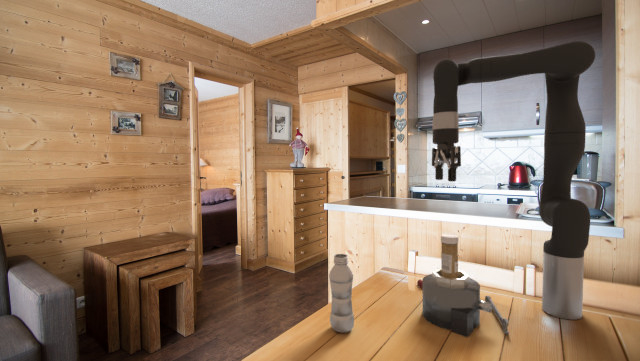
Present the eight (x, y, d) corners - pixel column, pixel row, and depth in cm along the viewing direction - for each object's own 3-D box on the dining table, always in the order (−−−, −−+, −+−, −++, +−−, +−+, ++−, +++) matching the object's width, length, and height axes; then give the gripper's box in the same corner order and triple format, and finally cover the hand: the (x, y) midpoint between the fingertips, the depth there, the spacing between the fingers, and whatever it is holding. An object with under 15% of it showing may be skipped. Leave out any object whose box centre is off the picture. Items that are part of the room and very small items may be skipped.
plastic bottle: (338, 338, 81) (336, 261, 80) (325, 326, 87) (324, 254, 86) (359, 331, 84) (358, 257, 83) (345, 320, 90) (344, 251, 89)
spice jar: (461, 284, 89) (462, 236, 88) (447, 286, 88) (447, 237, 87) (451, 278, 93) (451, 232, 92) (437, 280, 92) (437, 234, 91)
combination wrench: (484, 292, 99) (504, 322, 80) (489, 292, 99) (510, 323, 80) (484, 304, 100) (504, 337, 80) (489, 304, 99) (510, 338, 80)
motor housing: (436, 300, 101) (436, 261, 101) (499, 319, 89) (499, 275, 88) (412, 317, 91) (412, 274, 90) (479, 342, 78) (480, 292, 77)
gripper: (469, 125, 92) (469, 181, 93) (446, 130, 106) (446, 178, 107) (444, 125, 91) (444, 182, 92) (424, 130, 105) (424, 179, 106)
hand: (445, 180), depth 100 cm, fingers open, 8 cm apart
